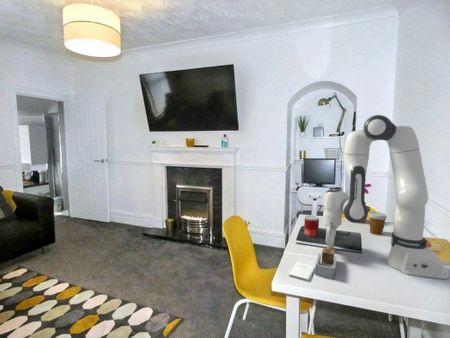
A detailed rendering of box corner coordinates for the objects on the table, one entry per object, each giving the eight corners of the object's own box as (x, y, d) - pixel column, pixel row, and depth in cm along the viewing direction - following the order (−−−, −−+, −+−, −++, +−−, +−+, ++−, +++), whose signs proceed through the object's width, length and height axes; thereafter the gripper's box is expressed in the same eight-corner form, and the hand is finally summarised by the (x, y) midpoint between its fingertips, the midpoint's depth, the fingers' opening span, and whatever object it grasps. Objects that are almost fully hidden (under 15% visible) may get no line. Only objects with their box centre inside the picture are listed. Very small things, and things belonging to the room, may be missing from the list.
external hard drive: (288, 277, 111) (296, 264, 122) (308, 283, 107) (315, 269, 118) (288, 274, 111) (297, 261, 122) (308, 279, 107) (315, 266, 117)
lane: (336, 266, 119) (336, 256, 119) (334, 279, 109) (334, 269, 108) (318, 262, 123) (319, 253, 122) (315, 274, 112) (315, 264, 112)
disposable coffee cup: (368, 234, 156) (369, 215, 155) (366, 229, 165) (367, 210, 164) (386, 237, 153) (388, 217, 151) (383, 231, 162) (385, 212, 160)
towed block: (335, 249, 136) (336, 240, 135) (333, 264, 120) (333, 254, 120) (325, 247, 138) (325, 238, 137) (321, 262, 123) (322, 252, 122)
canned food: (319, 238, 151) (319, 219, 150) (304, 237, 153) (305, 218, 151) (317, 233, 159) (318, 215, 157) (303, 232, 160) (304, 214, 159)
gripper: (337, 227, 123) (335, 255, 125) (339, 215, 141) (338, 240, 143) (323, 225, 126) (321, 252, 128) (327, 213, 144) (325, 237, 146)
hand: (330, 245), depth 135 cm, fingers closed on towed block, 3 cm apart
